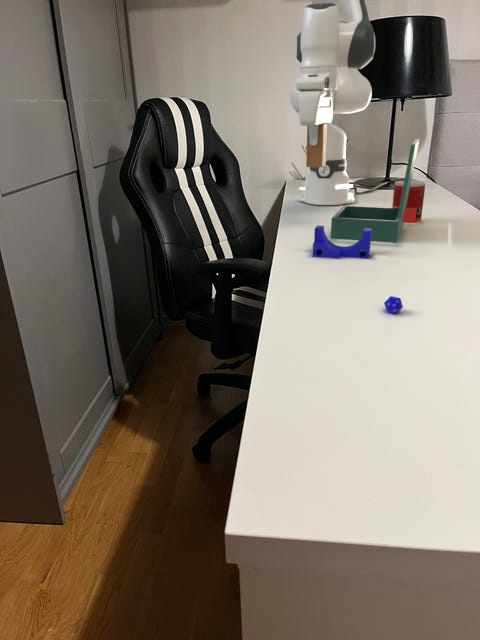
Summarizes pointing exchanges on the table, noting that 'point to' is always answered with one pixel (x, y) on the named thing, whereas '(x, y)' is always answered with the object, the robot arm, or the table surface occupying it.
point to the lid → (408, 178)
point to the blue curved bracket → (337, 251)
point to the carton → (317, 148)
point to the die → (393, 305)
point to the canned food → (410, 200)
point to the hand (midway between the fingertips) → (316, 144)
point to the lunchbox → (367, 223)
